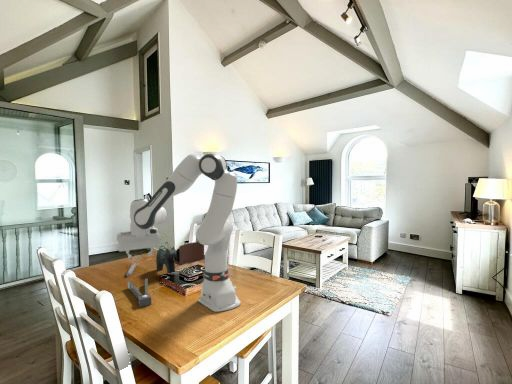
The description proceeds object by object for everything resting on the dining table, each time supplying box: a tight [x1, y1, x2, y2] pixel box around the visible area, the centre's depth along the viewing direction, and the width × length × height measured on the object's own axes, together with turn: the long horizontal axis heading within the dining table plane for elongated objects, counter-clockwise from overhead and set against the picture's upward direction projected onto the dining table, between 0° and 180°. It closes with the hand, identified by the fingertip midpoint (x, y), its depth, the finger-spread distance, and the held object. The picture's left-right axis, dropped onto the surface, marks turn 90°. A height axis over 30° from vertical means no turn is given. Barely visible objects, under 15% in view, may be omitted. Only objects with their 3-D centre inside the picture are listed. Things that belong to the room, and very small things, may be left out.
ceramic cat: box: [155, 241, 177, 273], centre depth 168 cm, size 20×6×20 cm, turn 46°
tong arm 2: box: [144, 278, 149, 295], centre depth 138 cm, size 22×1×3 cm, turn 23°
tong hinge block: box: [137, 293, 152, 308], centre depth 125 cm, size 4×5×4 cm
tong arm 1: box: [127, 281, 143, 300], centre depth 135 cm, size 22×1×3 cm, turn 39°
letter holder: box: [174, 241, 205, 266], centre depth 194 cm, size 10×20×14 cm, turn 131°
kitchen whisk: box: [125, 254, 143, 278], centre depth 175 cm, size 6×34×6 cm, turn 14°
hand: (140, 257), depth 134 cm, fingers open, 8 cm apart
